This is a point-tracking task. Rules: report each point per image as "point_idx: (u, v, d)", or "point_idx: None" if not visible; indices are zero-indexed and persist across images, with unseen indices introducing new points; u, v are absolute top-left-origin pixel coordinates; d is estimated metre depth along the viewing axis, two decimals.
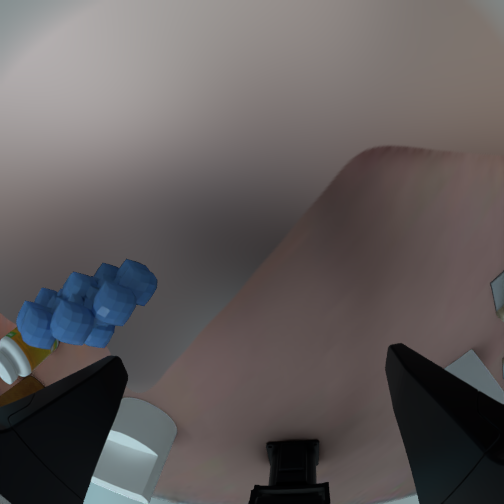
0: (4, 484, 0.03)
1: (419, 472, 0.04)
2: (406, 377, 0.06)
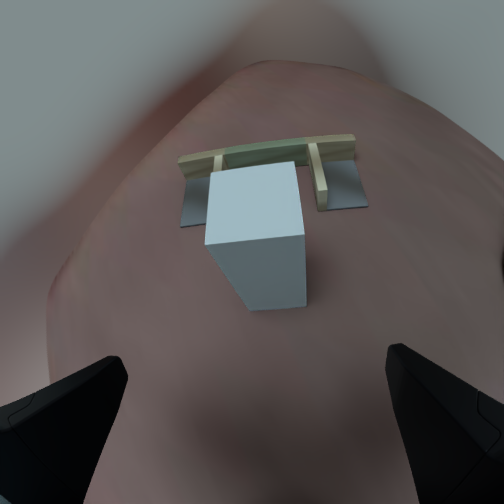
0: (4, 484, 0.03)
1: (419, 472, 0.04)
2: (406, 377, 0.06)
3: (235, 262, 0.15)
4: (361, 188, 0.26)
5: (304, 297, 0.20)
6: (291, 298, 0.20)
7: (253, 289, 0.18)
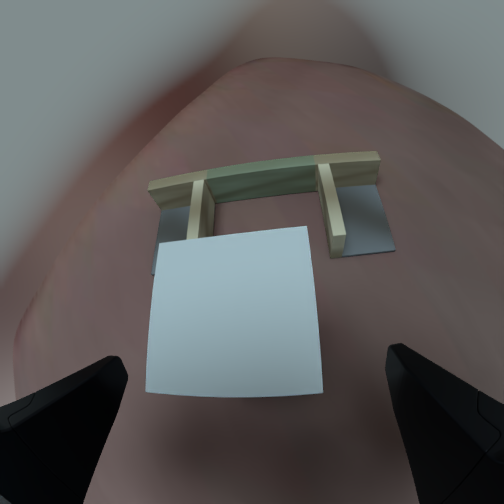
0: (4, 484, 0.03)
1: (419, 472, 0.04)
2: (406, 377, 0.06)
3: None
4: (386, 225, 0.19)
5: None
6: None
7: None
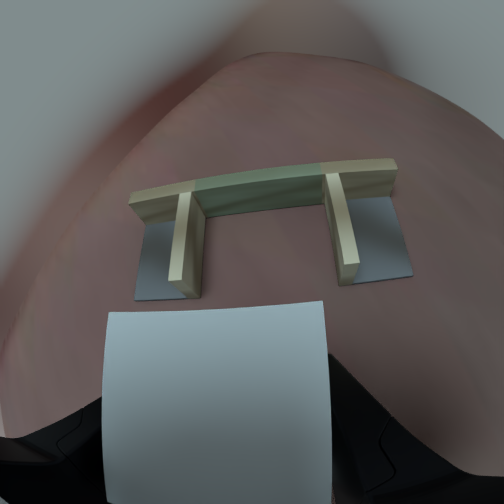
0: None
1: (336, 490, 0.05)
2: None
3: None
4: (403, 245, 0.16)
5: None
6: None
7: None
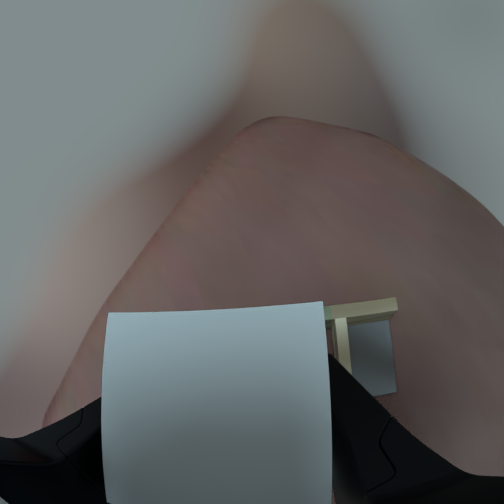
0: None
1: (336, 490, 0.05)
2: None
3: None
4: (393, 367, 0.19)
5: None
6: None
7: None
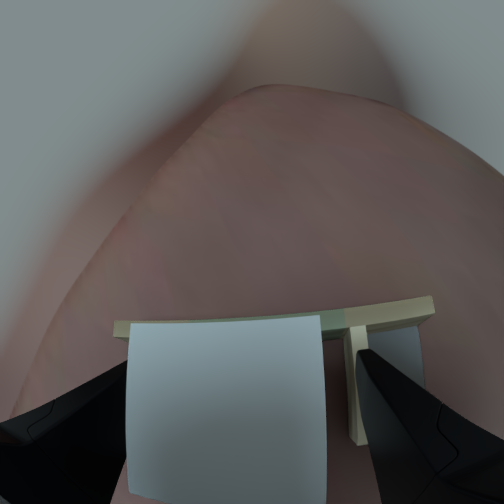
0: (25, 501, 0.03)
1: (382, 482, 0.05)
2: (369, 384, 0.06)
3: None
4: None
5: None
6: None
7: None
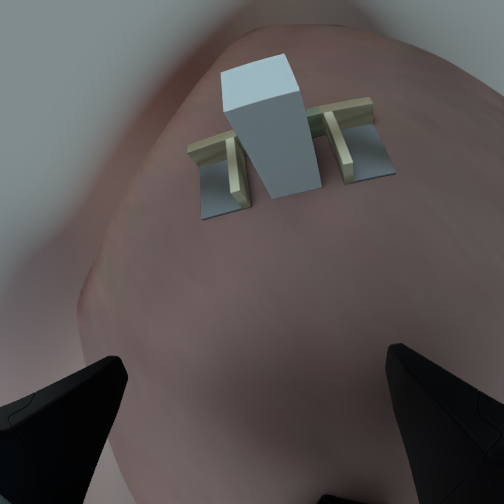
0: (4, 484, 0.03)
1: (419, 472, 0.04)
2: (406, 377, 0.06)
3: (250, 129, 0.17)
4: (386, 154, 0.23)
5: (317, 173, 0.22)
6: (306, 175, 0.22)
7: (270, 164, 0.20)
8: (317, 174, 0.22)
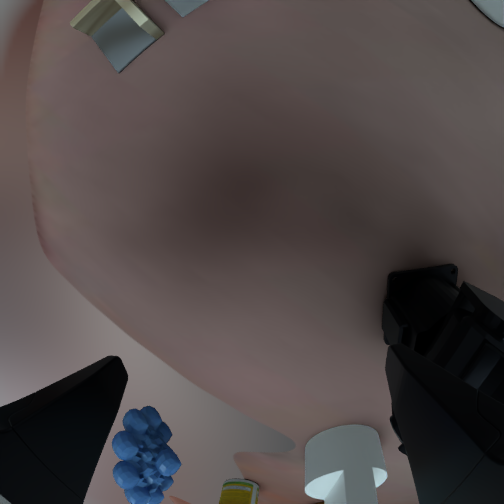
0: (4, 484, 0.03)
1: (419, 472, 0.04)
2: (406, 377, 0.06)
3: None
4: None
5: None
6: None
7: None
8: None
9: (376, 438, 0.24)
